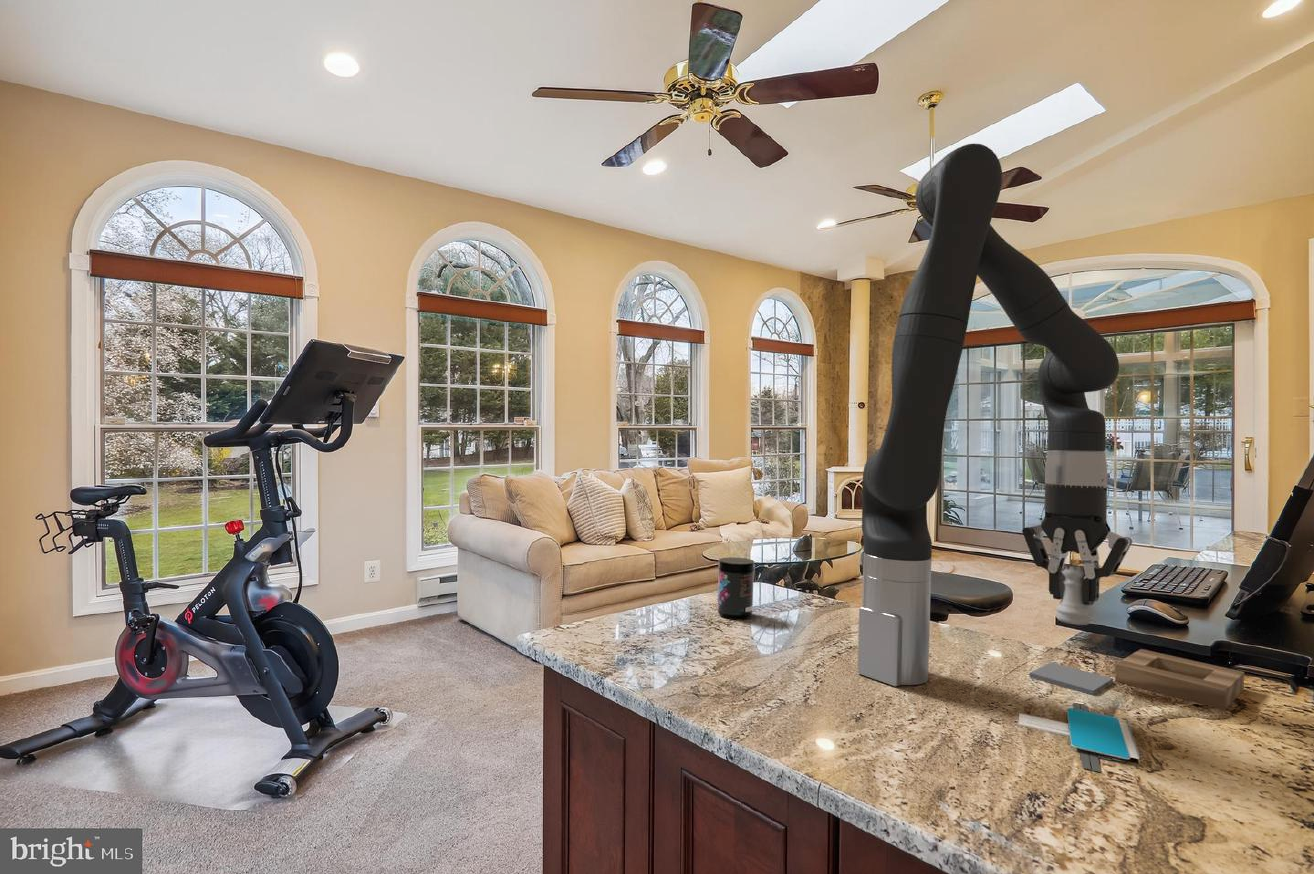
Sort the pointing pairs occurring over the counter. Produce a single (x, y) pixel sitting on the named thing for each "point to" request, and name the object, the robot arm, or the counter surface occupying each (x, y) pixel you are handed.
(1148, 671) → the pocket block
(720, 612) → the supplement container
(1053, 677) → the slate coaster
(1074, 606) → the rook chess piece
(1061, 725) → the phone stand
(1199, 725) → the counter surface
